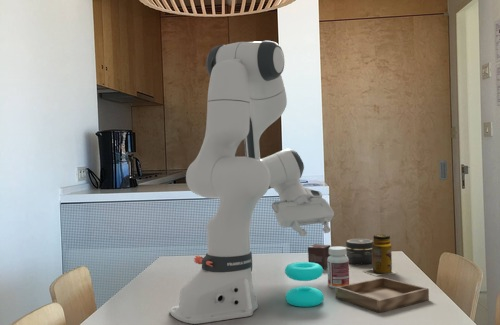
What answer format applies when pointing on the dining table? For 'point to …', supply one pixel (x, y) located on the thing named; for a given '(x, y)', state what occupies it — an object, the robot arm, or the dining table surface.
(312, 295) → the donuts
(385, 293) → the tray
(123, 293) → the dining table surface
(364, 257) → the jar
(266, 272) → the dining table surface
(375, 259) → the condiment
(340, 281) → the pill bottle
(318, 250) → the box
